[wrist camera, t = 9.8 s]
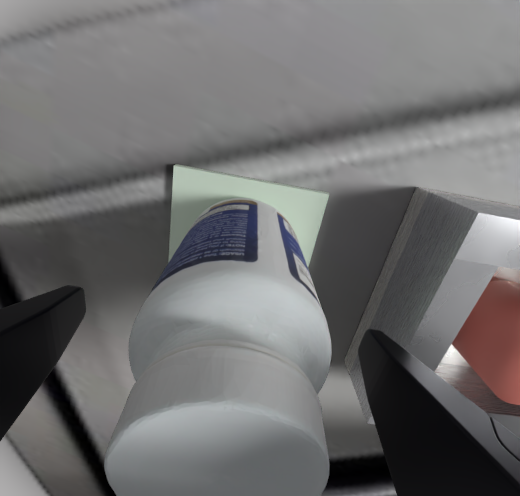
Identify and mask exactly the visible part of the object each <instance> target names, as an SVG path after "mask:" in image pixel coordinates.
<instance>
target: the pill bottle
mask: <svg viewBox="0 0 520 496" xmlns="http://www.w3.org/2000/svg"><path fill="white" fill-rule="evenodd" d="M331 354H332V350H331V339H330V333H329V329H328V324H327V321H326V317H325V315H324V313H323V310H322V307H321V304H320V301H319V299H318V296H317V293H316V290H315V287H314V284H313V281H312V278H311V276H310V273H309V270H308V267H307V264H306V261H305V258H304V256H303V253H302V250H301V248H300V244H299V241H298V239H297V236H296V234H295V232H294V230H293V228H292V226H291V224H290V223H289V221H288V220H287V219H286V218H285V216H284V215H283V214H282V213H281V212H280V211H278V210H277V209H275V208H274V207H272V206H270V205H268V204H266V203H264V202H261V201H258V200H254V199H249V198H232V199H227V200H223V201H220V202H218V203H216V204H214V205H212V206H210V207H209V208H207V209H206V210H205V211H204V212H203V213H202V214H201V215H199V217H198V218H197V219H196V220H195V221H194V223H193V224H192V226H191V227H190V229H189V230H188V232H187V234H186V235H185V237H184V239H183V240H182V242H181V244H180V245H179V247H178V248H177V250H176V252H175V253H174V255H173V257H172V258H171V260H170V261H169V263H168V265H167V266H166V268H165V269H164V271H163V273H162V274H161V276H160V278H159V279H158V281H157V282H156V284H155V286H154V287H153V289H152V291H151V292H150V294H149V296H148V297H147V299H146V300H145V302H144V303H143V305H142V307H141V309H140V311H139V313H138V315H137V317H136V319H135V322H134V325H133V327H132V330H131V334H130V339H129V361H130V366H131V370H132V373H133V376H134V378H135V380H136V383H135V384H134V386H133V388H132V390H131V392H130V394H129V397H128V399H127V402H126V405H125V407H124V409H123V412H122V414H121V416H120V419H119V421H118V423H117V426H116V428H115V430H114V432H113V435H112V437H111V439H110V442H109V445H108V448H107V451H106V455H105V463H104V468H105V473H106V476H107V479H108V482H109V484H110V486H111V487H112V489H113V490H114V492H115V494H116V495H117V496H320V495H321V494H322V492H323V491H324V489H325V486H326V484H327V481H328V477H329V456H328V450H327V444H326V438H325V432H324V425H323V419H322V408H321V404H320V400H319V398H318V396H317V394H318V392H319V391H320V389H321V388H322V386H323V384H324V382H325V380H326V378H327V375H328V372H329V368H330V362H331Z"/></svg>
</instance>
